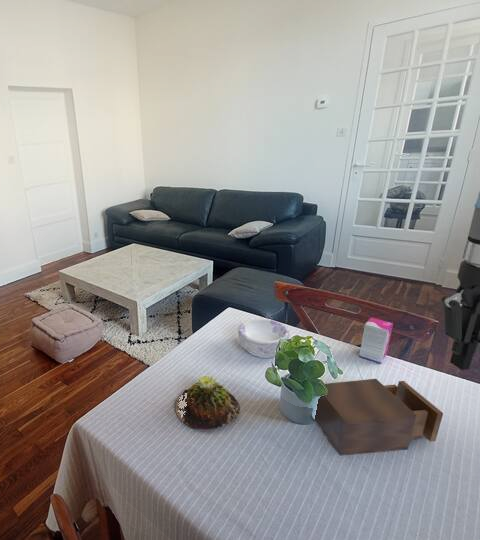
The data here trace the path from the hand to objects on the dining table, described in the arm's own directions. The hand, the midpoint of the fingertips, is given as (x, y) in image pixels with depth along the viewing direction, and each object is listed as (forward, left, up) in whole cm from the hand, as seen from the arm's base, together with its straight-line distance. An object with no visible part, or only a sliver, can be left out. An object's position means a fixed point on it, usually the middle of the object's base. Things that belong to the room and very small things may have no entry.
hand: (459, 365), depth 72 cm
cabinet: (+19, +7, -16) cm, 26 cm away
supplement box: (+7, -25, -16) cm, 31 cm away
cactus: (+53, +7, -16) cm, 56 cm away
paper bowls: (+38, -23, -16) cm, 47 cm away
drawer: (+12, +4, -15) cm, 20 cm away
